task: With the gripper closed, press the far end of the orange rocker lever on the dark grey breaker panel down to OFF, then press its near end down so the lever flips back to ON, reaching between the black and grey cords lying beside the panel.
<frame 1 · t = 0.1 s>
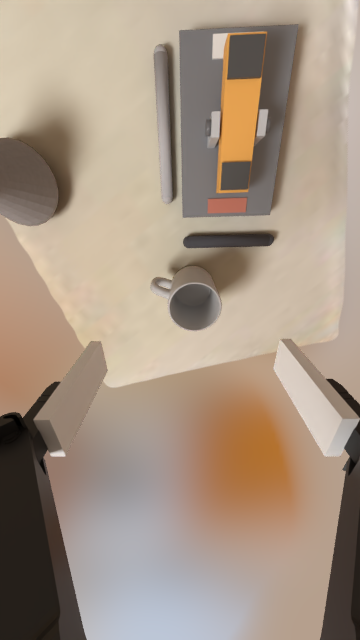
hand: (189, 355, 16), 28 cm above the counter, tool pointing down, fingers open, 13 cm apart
panel: (227, 143, 32), on the counter
coffee pot: (17, 209, 36), on the counter
mug: (184, 283, 42), on the counter
cord grey: (164, 137, 32), on the counter
lever: (237, 126, 26), point 7 cm above the counter, hinge at 4.0°
cord black: (227, 240, 38), on the counter
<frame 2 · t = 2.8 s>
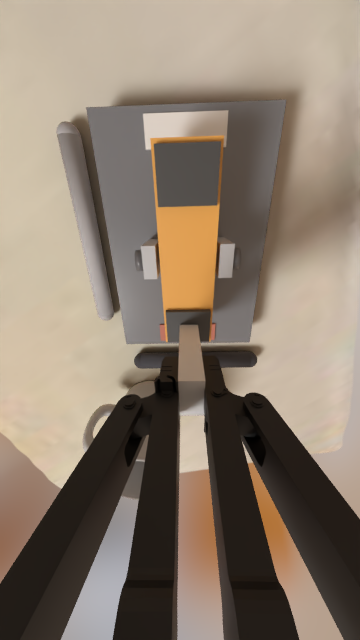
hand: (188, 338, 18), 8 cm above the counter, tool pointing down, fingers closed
panel: (186, 247, 22), on the counter
mug: (142, 396, 32), on the counter
cord grey: (94, 239, 22), on the counter
lever: (187, 260, 16), point 7 cm above the counter, hinge at 4.6°, touching gripper
cord black: (194, 355, 28), on the counter
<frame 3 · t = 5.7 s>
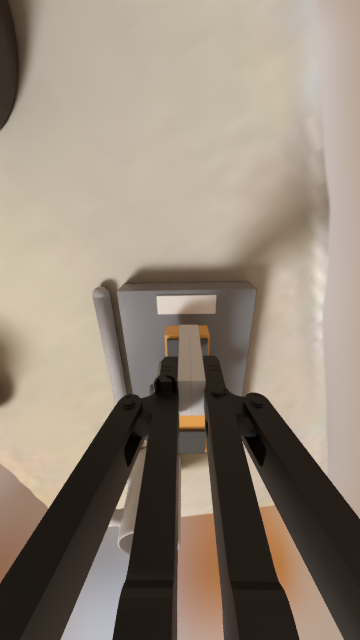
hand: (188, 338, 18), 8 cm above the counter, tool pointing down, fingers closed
panel: (186, 355, 28), on the counter
mug: (148, 457, 38), on the counter
cord grey: (114, 350, 28), on the counter
lever: (187, 393, 22), point 7 cm above the counter, hinge at -6.5°, touching gripper
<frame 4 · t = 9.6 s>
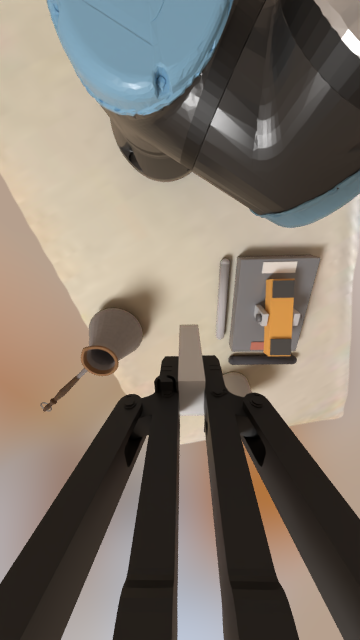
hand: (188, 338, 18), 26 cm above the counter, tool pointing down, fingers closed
panel: (265, 304, 44), on the counter
coffee pot: (105, 338, 49), on the counter
mug: (225, 382, 55), on the counter
cord grey: (221, 300, 44), on the counter
lever: (278, 317, 38), point 7 cm above the counter, hinge at -19.2°
cord black: (260, 357, 51), on the counter
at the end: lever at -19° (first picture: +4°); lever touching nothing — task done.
